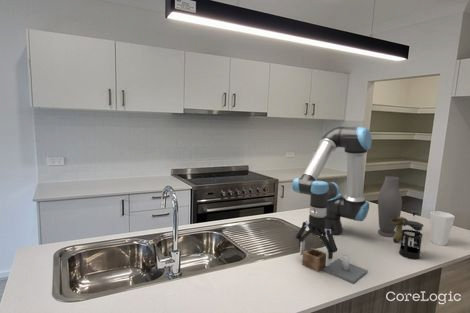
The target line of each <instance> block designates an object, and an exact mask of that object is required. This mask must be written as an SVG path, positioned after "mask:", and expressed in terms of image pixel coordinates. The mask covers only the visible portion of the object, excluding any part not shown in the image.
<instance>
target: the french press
mask: <svg viewBox="0 0 470 313" xmlns="http://www.w3.org/2000/svg"><path fill="white" fill-rule="evenodd" d="M409 213H410V214H412V216H413V217H412V220H408V221H403V223H404V225H403V227H405V226H409V227H411V229H402V238H401V241H400V246H399V251H398V254H399V255H400V256H402V257H403V258H406V259H409V260H419V259H421V248H422V247H421V246H422V238H423V233H421V231H422V230H423V228H424V224H423V223H421V222H418V221H415V216H416V215H419V214H420V212H418V211H414V210H410V211H409ZM407 233H411V234H407ZM413 234H414V235H413ZM412 239H413V240H412Z"/></svg>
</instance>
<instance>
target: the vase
mask: <svg viewBox="0 0 470 313" xmlns="http://www.w3.org/2000/svg"><path fill="white" fill-rule="evenodd" d="M399 181H400V178H399V177H398V176H397V177H396V176H390V175H389V176H388V175H387V176H385V179H384V181H383V184H382V186H381V188H380V190H379V193H378V197H377V198H378V199H377V209H378V210H377V212H378V213H377V214H378V227H379V229H378V231H377V234H378V235H379V236H381V237H386V238H393V237H394V235H395V233H396V225H395V224H393V223H392V222H391V219H392V218H393V217H396V216H399V217H401V211H402V207H403V198H402V194H401V192H400V189H399V188H400V186H399V185H400V184H399V183H400V182H399Z"/></svg>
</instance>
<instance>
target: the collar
mask: <svg viewBox="0 0 470 313" xmlns="http://www.w3.org/2000/svg"><path fill="white" fill-rule="evenodd" d="M326 253H327V252H324V251H323V250H322V251H321V250H319V249H317V248H314V247H311V248H309V249H308V250H305V251H304V252H303V255H302V261H301V265H302V266H304V267H306V268H308V269H311V270H313V271H315V272H316V273H317V272H319V271H321V270H323V268H324V267H326Z"/></svg>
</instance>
